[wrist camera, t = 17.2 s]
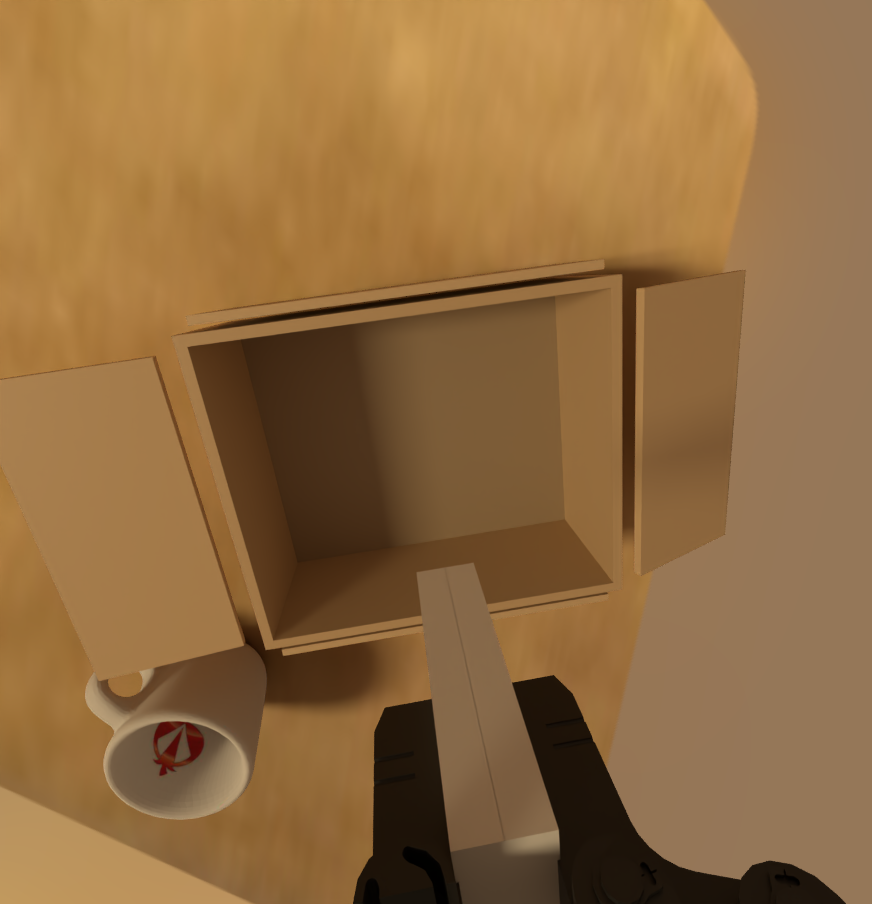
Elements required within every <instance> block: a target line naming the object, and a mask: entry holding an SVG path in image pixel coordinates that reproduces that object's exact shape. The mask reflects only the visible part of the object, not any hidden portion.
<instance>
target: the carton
mask: <svg viewBox="0 0 872 904" xmlns="http://www.w3.org/2000/svg"><path fill="white" fill-rule="evenodd" d="M600 269H604V259H600V260H591V261H581V262H572V263H563V264H553V265H546V266H538V267H531V268H524V269H516V270H509V271H501V272H494V273H487V274H479V275H472V276H465V277H457V278H450V279H443V280H435V281H428V282H420V283H413V284H406V285H398V286H391V287H384V288H376V289H369V290H362V291H354V292H347V293H340V294H332V295H325V296H317V297H310V298H303V299H295V300H288V301H281V302H273V303H266V304H259V305H251V306H244V307H236V308H230V309H224V310H218V311H212V312H206V313H200V314H194V315H188V316H186V320H187V323H188V326H192V325H199V324H206V323H214V322H221V321H228V320H236V319H243V318H250V317H257V316H265V315H272V314H279V313H287V312H294V311H301V310H309V309H316V308H323V307H330V306H338V305H345V304H352V303H360V302H367V301H374V300H382V299H389V298H396V297H403V296H411V295H418V294H425V293H433V292H440V291H447V290H455V289H462V288H469V287H476V286H484V285H491V284H498V283H506V282H513V281H520V280H528V279H535V278H542V277H549V276H557V275H564V274H571V273H579V272H586V271H593V270H600ZM171 337H172V341H173V344H174V347H175V350H176V354H177V357H178V360H179V364H180V367H181V370H182V374H183V377H184V380H185V384H186V387H187V390H188V394H189V397H190V400H191V404H192V407H193V410H194V414H195V417H196V420H197V423H198V427H199V430H200V433H201V437H202V440H203V443H204V447H205V450H206V453H207V457H208V460H209V463H210V467H211V470H212V473H213V477H214V480H215V483H216V487H217V490H218V493H219V496H220V500H221V503H222V506H223V510H224V513H225V516H226V520H227V523H228V526H229V530H230V533H231V536H232V540H233V543H234V546H235V550H236V553H237V556H238V560H239V563H240V566H241V569H242V573H243V576H244V579H245V583H246V586H247V589H248V593H249V596H250V599H251V603H252V606H253V609H254V613H255V616H256V619H257V623H258V626H259V629H260V633H261V636H262V639H263V642H264V646H265V649H266V650H270V649H276V648H282V653H283V656H286V655H292V654H298V653H303V652H309V651H315V650H321V649H327V648H333V647H338V646H344V645H350V644H356V643H362V642H368V641H373V640H379V639H385V638H391V637H397V636H402V635H408V634H414V633H420V632H424V630H423V622H422V614H421V606H420V597H419V589H418V581H417V573H416V572H421V571H427V570H433V569H439V568H445V567H451V566H457V565H463V564H469V563H474V566H475V569H476V572H477V575H478V579H479V582H480V585H481V588H482V591H483V594H484V597H485V601H486V604H487V607H488V610H489V613H490V616H491V619H492V620H496V619H502V618H507V617H513V616H519V615H525V614H531V613H537V612H542V611H548V610H554V609H560V608H566V607H572V606H577V605H583V604H589V603H595V602H601V601H607V600H608V593H607V592H610V591H616V590H622V274H611V275H583V276H559V277H551V278H544V279H537V280H530V281H522V282H515V283H508V284H500V285H493V286H486V287H478V288H471V289H464V290H457V291H449V292H442V293H435V294H427V295H420V296H413V297H406V298H398V299H391V300H384V301H376V302H369V303H362V304H355V305H347V306H340V307H333V308H325V309H318V310H311V311H303V312H296V313H289V314H282V315H274V316H267V317H260V318H252V319H245V320H238V321H231V322H226V323H222V324H218V325H214V326H210V327H206V328H202V329H198V330H194V331H190V332H186V333H182V334H178V335H174V336H171Z"/></svg>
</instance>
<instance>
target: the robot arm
mask: <svg viewBox="0 0 872 904" xmlns="http://www.w3.org/2000/svg"><path fill="white" fill-rule="evenodd" d="M416 573H417V581H418V589H419V597H420V606H421V614H422V622H423V630H424V639H425V647H426V655H427V663H428V672H429V680H430V688H431V696H432V699H430V700H424V701H419V702H413V703H408V704H403V705H397V706H392V707H386V708H384V711H383V713H382V715H381V718H380V720H379V722H378V725H377V727H376V729H375V732H374V761H375V764H374V811H373V856H372V857H371V858H370V859H369V860H368V862H367V864H366V865H365V867H364V869H363V871H362V873H361V874H360V876H359V878H358V881H357V886H356V891H355V896H354V901H353V904H846V903H845V902H844V901H843V900H842V899H841V898H840V897H839V896H838V895H837V894H836V893H834V892H833V891H832V890H831V889H830V888H829V887H827V886H826V885H825V884H824V883H823V882H821V881H820V880H819V879H818V878H817V877H815V876H813V875H812V874H810V873H807V872H805V871H803V870H802V869H799V868H798V867H796V866H794V865H791V864H786V863H781V862H775V861H766V862H763V863H759V864H755V865H752V866H751V867H750V868H749V870H748V871H747V872H746V873H745V874H744V875H743V877H742V878H741V880H739V879H733V878H728V877H722V876H717V875H711V874H706V873H700V872H695V871H691V870H688V869H685V868H681V867H678V866H677V865H675V864H673V863H671V862H669V861H667V860H665V859H663V858H662V857H661V856H660V855H659V854H657V853H656V852H655V851H653V850H652V849H651V848H650V847H649V846H648V845H647V844H646V843H645V842H644V840H643V839H642V838H641V837H640V836H639V835H638V833H637V832H636V830H635V828H634V826H633V825H632V823H631V821H630V819H629V817H628V815H627V813H626V810H625V808H624V806H623V804H622V801H621V799H620V797H619V795H618V793H617V790H616V788H615V786H614V784H613V782H612V779H611V777H610V775H609V773H608V771H607V768H606V766H605V764H604V762H603V760H602V757H601V755H600V753H599V751H598V749H597V746H596V744H595V742H593V739H592V735H591V733H590V731H589V729H588V727H587V724H586V722H584V719H583V716H582V713H581V711H580V709H579V707H578V705H577V702H576V700H575V698H574V696H573V694H572V693H571V692H570V691H569V690H568V689H567V688H566V687H565V686H564V685H563V684H562V683H561V682H560V681H559V680H558V679H557V678H556V677H555V676H554V675H552V676H547V677H541V678H536V679H530V680H525V681H519V682H514V683H512V682H511V679H510V676H509V673H508V669H507V666H506V663H505V660H504V657H503V654H502V651H501V647H500V644H499V641H498V638H497V635H496V632H495V629H494V626H493V622H492V619H491V616H490V613H489V610H488V607H487V604H486V601H485V597H484V594H483V591H482V588H481V585H480V582H479V579H478V575H477V572H476V569H475V566H474V563H469V564H463V565H457V566H451V567H445V568H439V569H433V570H427V571H421V572H416Z"/></svg>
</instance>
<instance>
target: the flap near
mask: <svg viewBox="0 0 872 904" xmlns="http://www.w3.org/2000/svg"><path fill="white" fill-rule="evenodd" d="M0 465H1V467H2V469H3V471H4V473H5V476H6V478H7V480H8V482H9V484H10V487H11V489H12V491H13V493H14V495H15V498H16V500H17V502H18V504H19V506H20V509H21V511H22V513H23V515H24V517H25V520H26V522H27V524H28V526H29V529H30V531H31V533H32V535H33V537H34V540H35V542H36V544H37V546H38V548H39V551H40V553H41V555H42V557H43V559H44V562H45V564H46V566H47V568H48V570H49V573H50V575H51V577H52V579H53V581H54V584H55V586H56V588H57V590H58V592H59V595H60V597H61V599H62V601H63V603H64V606H65V608H66V610H67V612H68V614H69V617H70V619H71V621H72V623H73V625H74V628H75V630H76V632H77V634H78V636H79V639H80V641H81V643H82V645H83V647H84V650H85V652H86V654H87V656H88V658H89V661H90V663H91V665H92V667H93V669H94V672H95V674H96V676H97V678H98V680H99V681H102V680H106V679H110V678H114V677H118V676H122V675H126V674H130V673H134V672H138V671H143V670H147V669H151V668H155V667H159V666H163V665H167V664H171V663H175V662H179V661H183V660H188V659H192V658H196V657H200V656H204V655H208V654H212V653H216V652H220V651H224V650H228V649H233V648H237V647H241V646H244V643H245V638H244V634H243V631H242V628H241V625H240V622H239V619H238V615H237V612H236V609H235V606H234V603H233V600H232V596H231V593H230V590H229V587H228V584H227V581H226V577H225V574H224V571H223V568H222V565H221V562H220V558H219V555H218V552H217V549H216V546H215V543H214V539H213V536H212V533H211V530H210V527H209V524H208V520H207V517H206V514H205V511H204V508H203V505H202V501H201V498H200V495H199V492H198V489H197V486H196V482H195V479H194V476H193V473H192V470H191V467H190V464H189V460H188V457H187V454H186V451H185V448H184V445H183V441H182V438H181V435H180V432H179V429H178V426H177V422H176V419H175V416H174V413H173V410H172V407H171V403H170V400H169V397H168V394H167V391H166V388H165V384H164V381H163V378H162V375H161V372H160V369H159V365H158V362H157V359H156V356H152V357H145V358H139V359H132V360H125V361H118V362H112V363H105V364H98V365H92V366H85V367H78V368H71V369H65V370H58V371H51V372H44V373H38V374H31V375H24V376H17V377H11V378H4V379H0Z"/></svg>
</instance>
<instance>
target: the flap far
mask: <svg viewBox="0 0 872 904" xmlns="http://www.w3.org/2000/svg"><path fill="white" fill-rule="evenodd" d="M744 283H745V270H740V271H733V272H727V273H721V274H715V275H710V276H704V277H699V278H693V279H687V280H682V281H676V282H671V283H665V284H659V285H654V286H648V287H643V288H637V289H636V395H635V514H634V573H636V574H638V575H640V576H642V575H644V574H646V573H648V572H650V571H652V570H654V569H656V568H658V567H660V566H662V565H664V564H666V563H668V562H670V561H672V560H674V559H676V558H678V557H680V556H682V555H684V554H687V553H689V552H690V551H692V550H694V549H697V548H699V547H701V546H703V545H705V544H707V543H709V542H711V541H713V540H715V539H717V538H719V537H721V536H723V535H725V527H726V514H727V500H728V488H729V476H730V463H731V450H732V449H731V448H732V437H733V425H734V412H735V399H736V386H737V373H738V360H739V348H740V334H741V322H742V309H743V296H744V295H743V294H744Z"/></svg>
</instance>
